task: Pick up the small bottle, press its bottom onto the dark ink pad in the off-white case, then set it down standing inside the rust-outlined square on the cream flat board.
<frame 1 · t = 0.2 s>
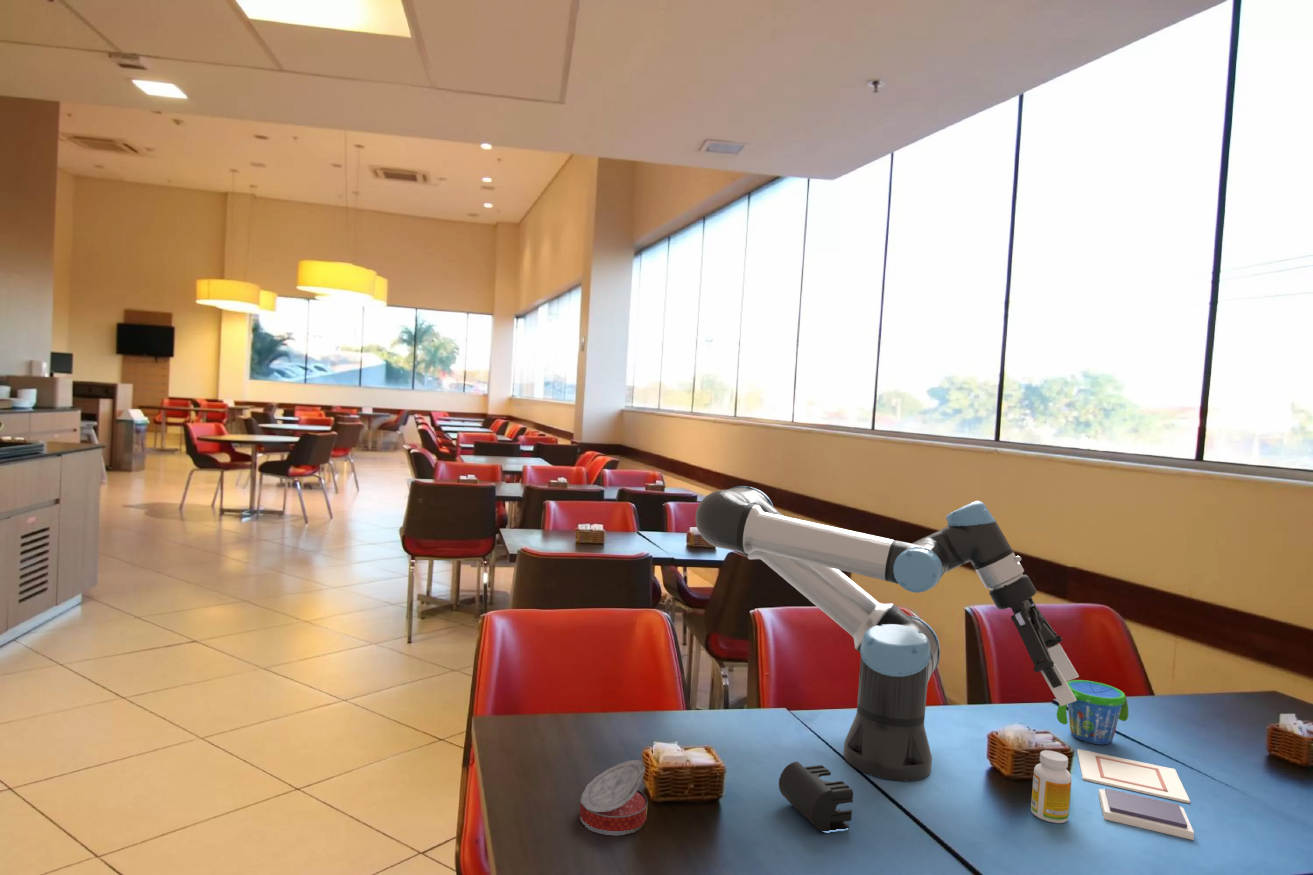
hand: (1070, 690, 143), 15 cm above the table, tool tilted 35°, fingers open, 13 cm apart
snack cup: (1090, 739, 161), on the table
end cap: (813, 819, 122), on the table
supplement bottle: (1049, 816, 128), on the table
cream flat board: (1129, 775, 145), on the table
ink pad: (1143, 816, 129), on the table
canned food: (612, 820, 118), on the table
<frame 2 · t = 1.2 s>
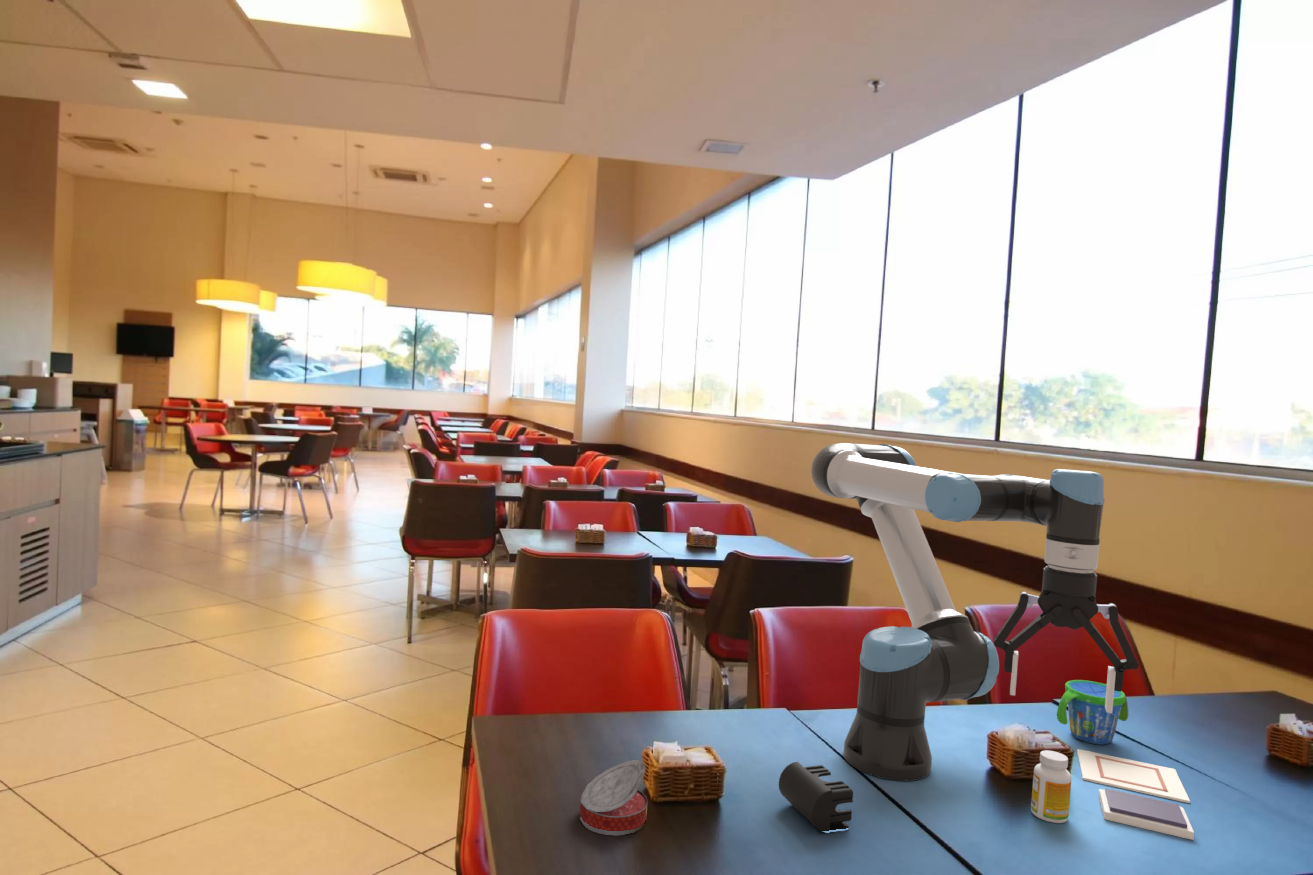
hand: (1059, 701, 127), 18 cm above the table, tool pointing down, fingers open, 13 cm apart
nothing on the table moved.
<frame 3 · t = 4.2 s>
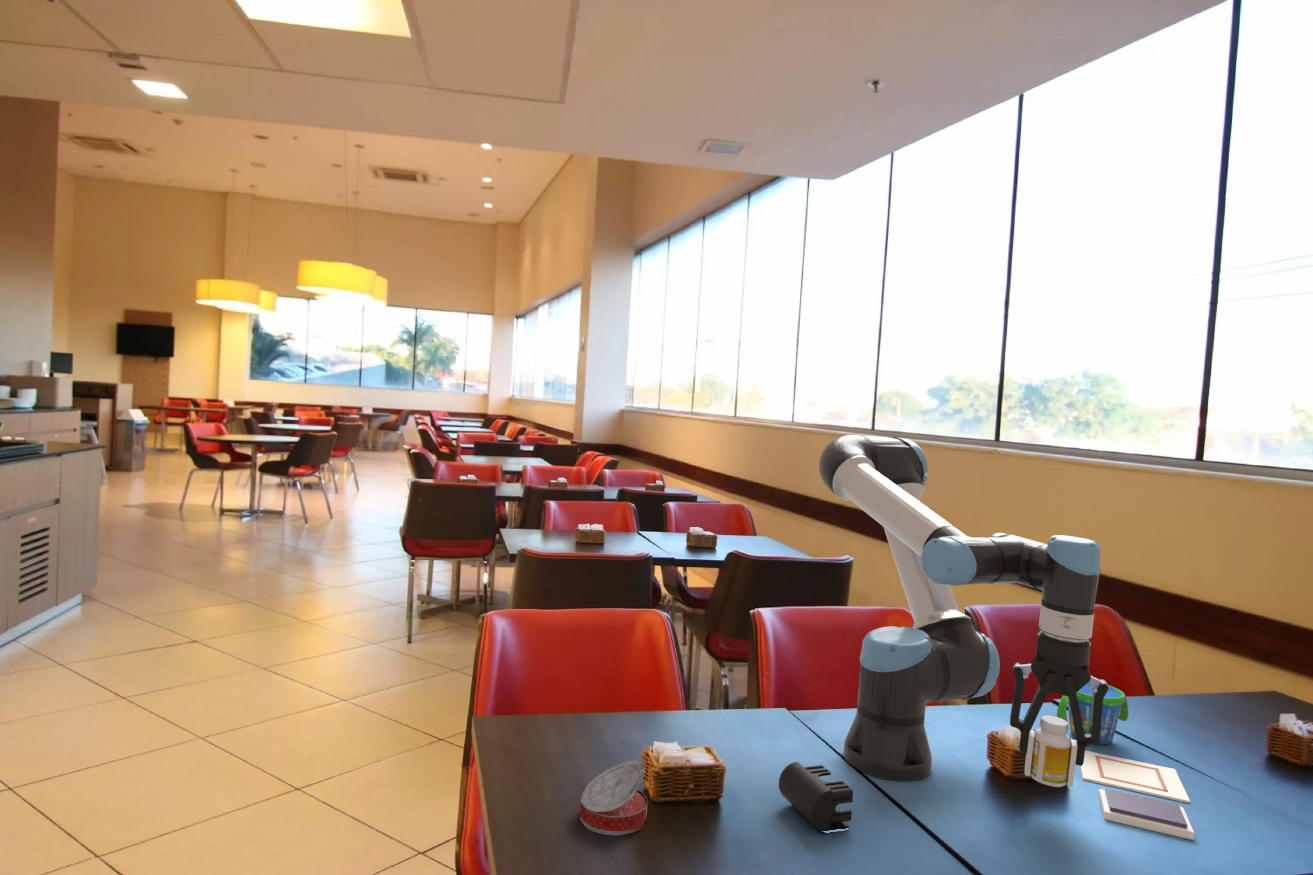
hand: (1048, 777, 128), 6 cm above the table, tool pointing down, fingers closed on supplement bottle, 5 cm apart
supplement bottle: (1047, 780, 128), point 5 cm above the table, touching gripper
everything else where it was.
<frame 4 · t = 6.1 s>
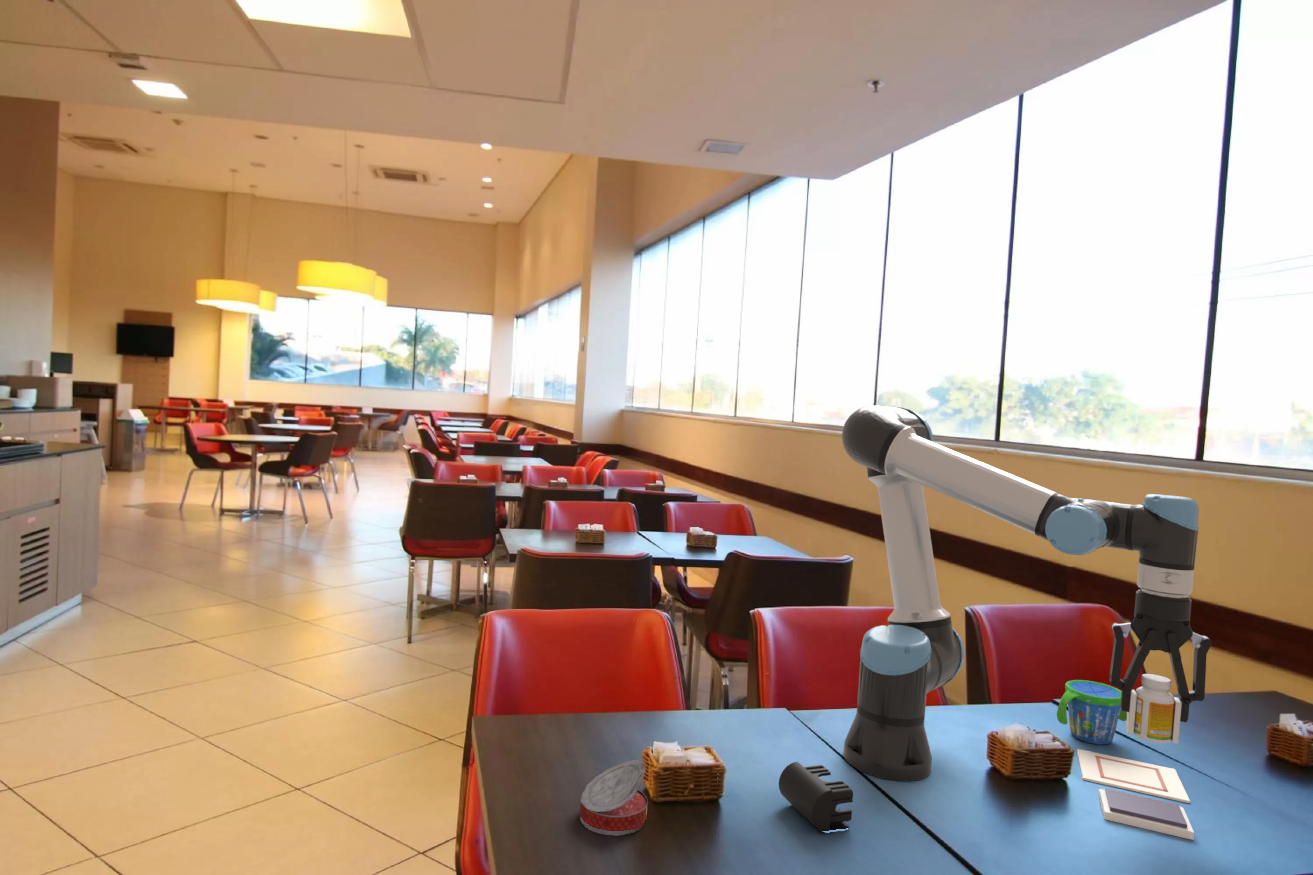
hand: (1151, 735, 129), 13 cm above the table, tool pointing down, fingers closed on supplement bottle, 5 cm apart
supplement bottle: (1151, 738, 129), point 13 cm above the table, touching gripper
everything else where it was.
when the fingers open (2 cm above the table, at t = 7.9 s): supplement bottle stays where it is, resting on ink pad.
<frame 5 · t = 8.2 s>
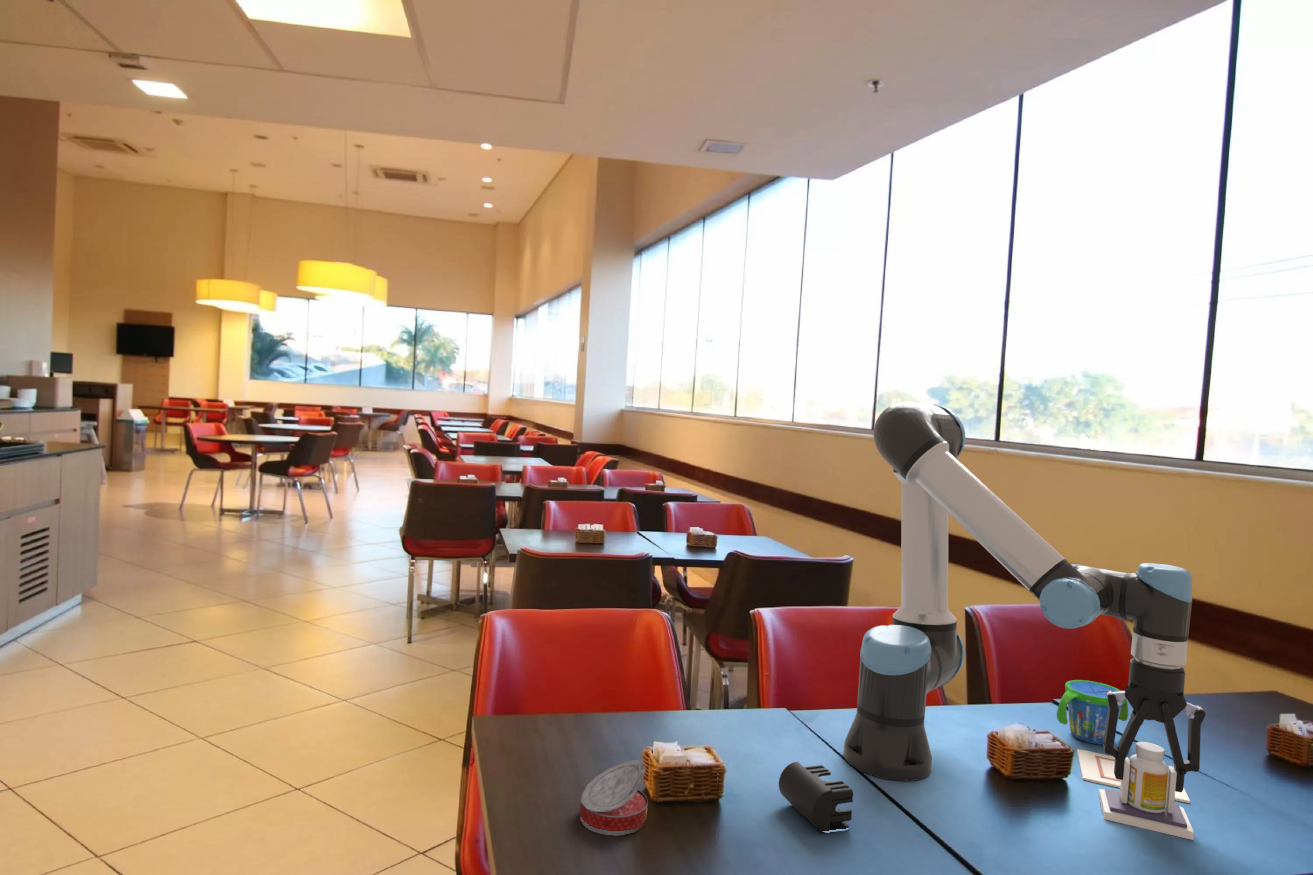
hand: (1145, 804, 129), 2 cm above the table, tool pointing down, fingers open, 6 cm apart
supplement bottle: (1144, 806, 129), point 2 cm above the table, touching ink pad
everything else where it was.
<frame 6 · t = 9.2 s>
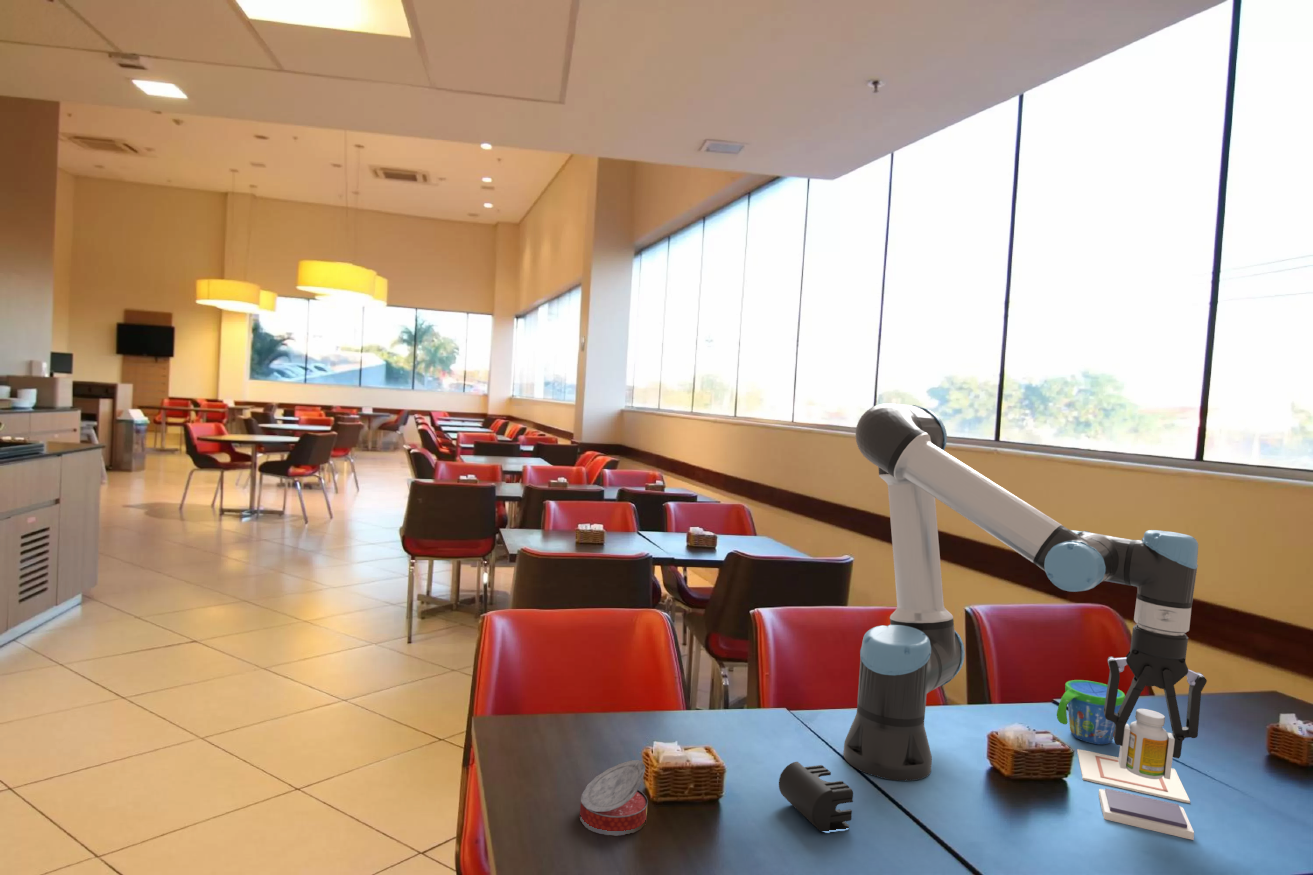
hand: (1143, 769, 129), 7 cm above the table, tool pointing down, fingers closed on supplement bottle, 5 cm apart
supplement bottle: (1143, 773, 129), point 7 cm above the table, touching gripper
everything else where it was.
when the fingers open (1 cm above the table, at t = 13.5 s): supplement bottle stays where it is, resting on cream flat board.
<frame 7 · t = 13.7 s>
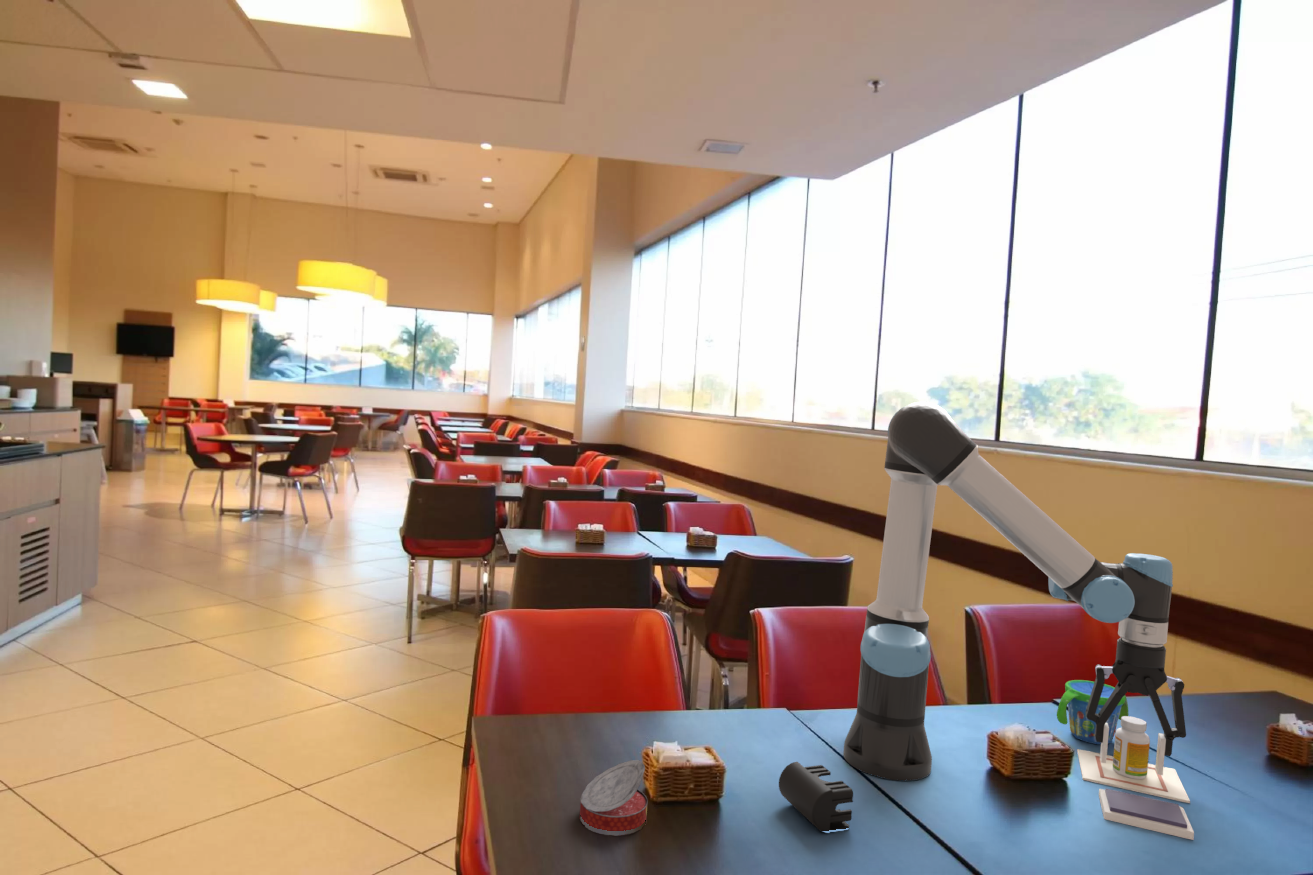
hand: (1130, 765, 145), 2 cm above the table, tool pointing down, fingers open, 8 cm apart
supplement bottle: (1129, 774, 145), resting on cream flat board
everything else where it was.
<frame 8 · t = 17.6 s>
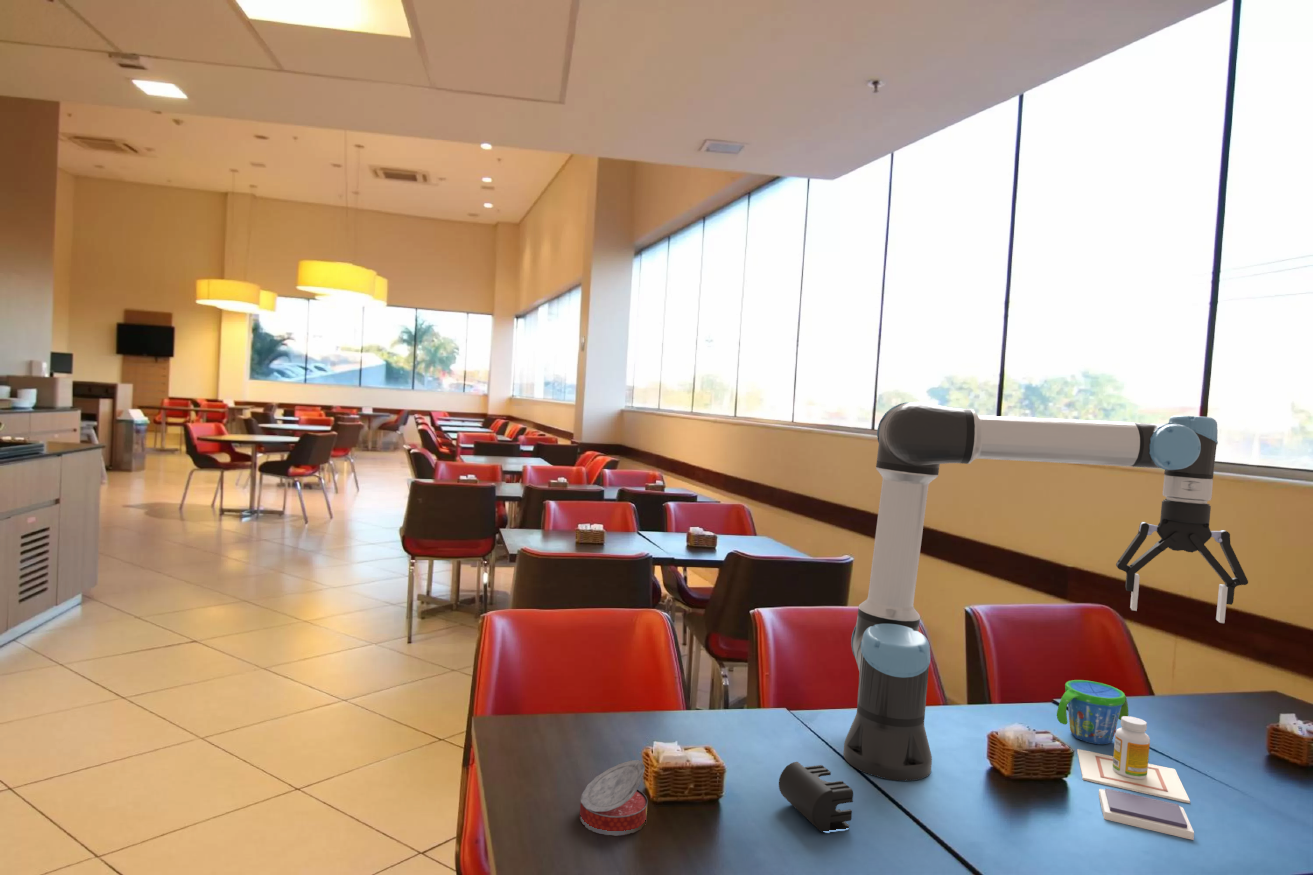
hand: (1175, 615, 148), 29 cm above the table, tool pointing down, fingers open, 13 cm apart
nothing on the table moved.
at the end: supplement bottle inside the target area on the cream flat board (0.1 cm from its centre), point 0.2 cm above the cream flat board's base; supplement bottle tilted 0°; the gripper is holding nothing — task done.
